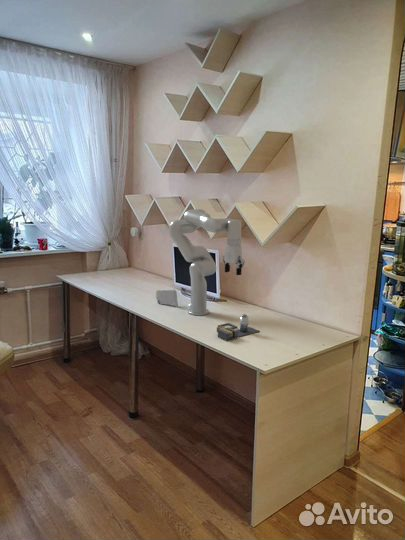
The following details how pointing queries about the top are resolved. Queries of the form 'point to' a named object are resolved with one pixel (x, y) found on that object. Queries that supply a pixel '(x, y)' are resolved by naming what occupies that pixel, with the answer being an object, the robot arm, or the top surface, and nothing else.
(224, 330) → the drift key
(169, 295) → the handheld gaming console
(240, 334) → the mat
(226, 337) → the socket block
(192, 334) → the top surface
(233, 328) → the socket collar
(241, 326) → the peg
